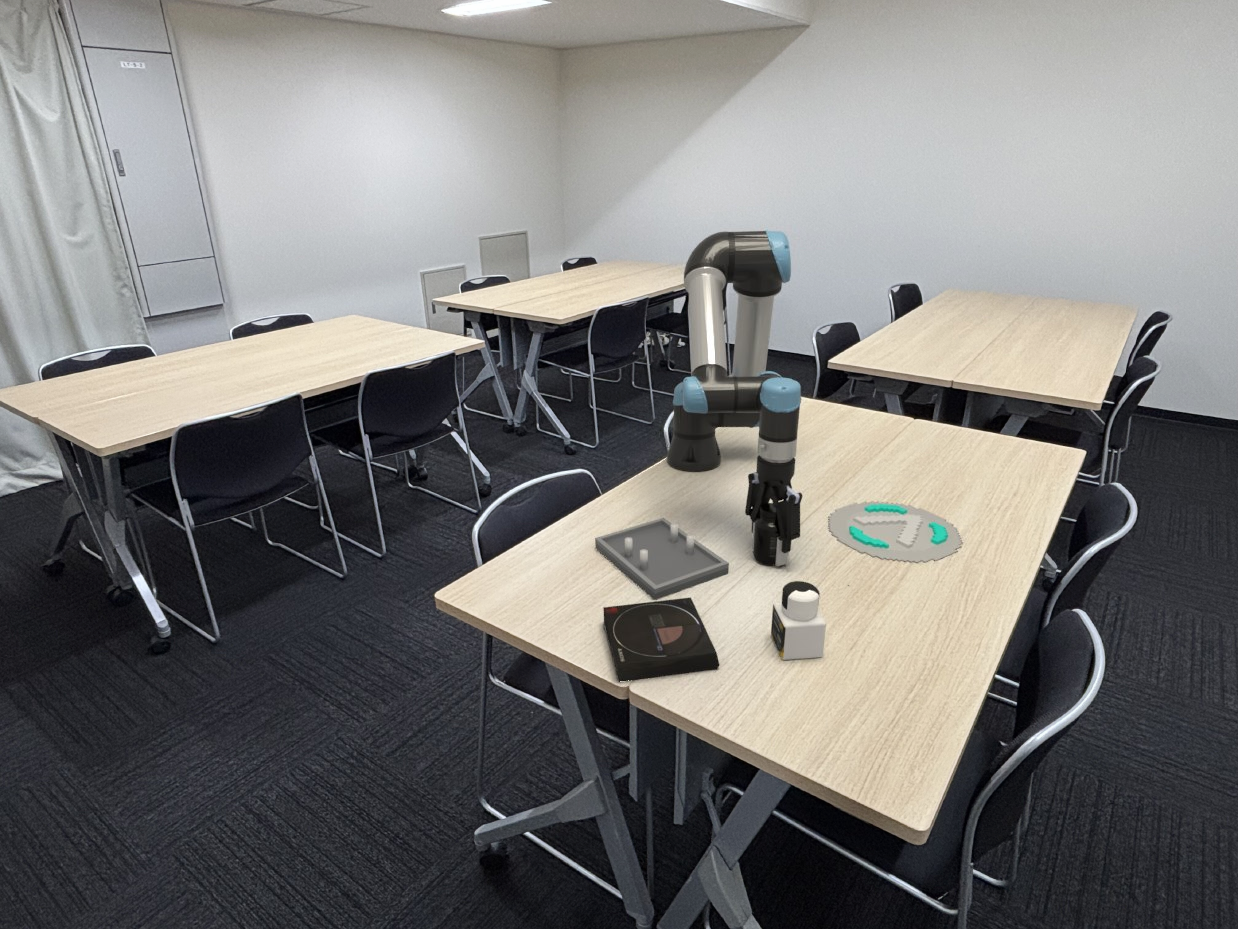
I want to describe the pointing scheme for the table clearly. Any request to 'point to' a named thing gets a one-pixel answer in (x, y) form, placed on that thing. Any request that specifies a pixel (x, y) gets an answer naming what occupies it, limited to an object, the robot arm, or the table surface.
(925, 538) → the grey symbol plate
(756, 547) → the supplement bottle
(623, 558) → the pin tray
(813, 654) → the medicine bottle
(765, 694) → the table surface
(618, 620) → the portable cd player
